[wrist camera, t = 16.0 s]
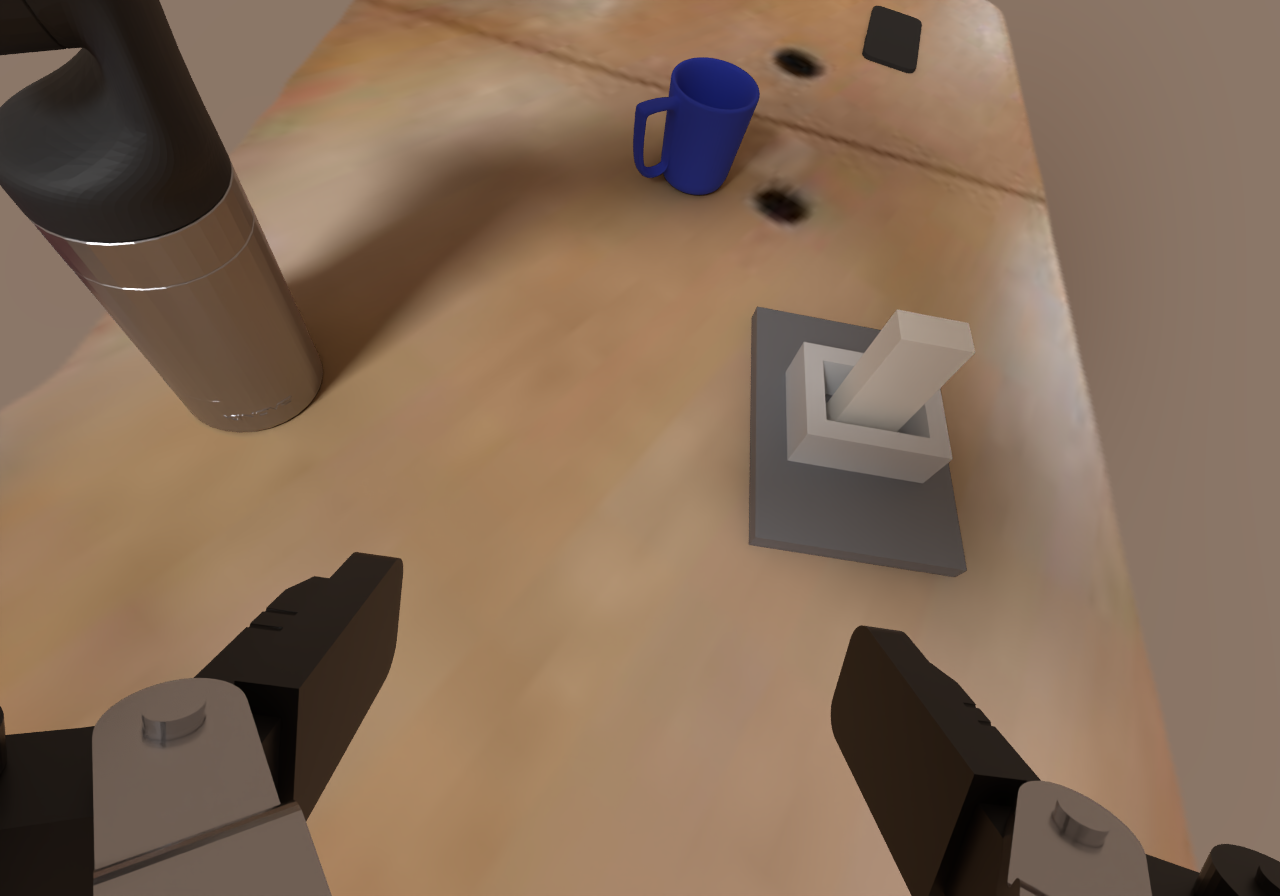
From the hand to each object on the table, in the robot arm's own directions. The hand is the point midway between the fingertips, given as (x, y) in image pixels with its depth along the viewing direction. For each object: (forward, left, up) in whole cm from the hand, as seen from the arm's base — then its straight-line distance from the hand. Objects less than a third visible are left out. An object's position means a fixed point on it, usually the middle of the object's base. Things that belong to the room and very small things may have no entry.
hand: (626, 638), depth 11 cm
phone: (-60, +78, -31) cm, 103 cm away
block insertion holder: (-11, +31, -31) cm, 45 cm away
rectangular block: (-11, +31, -29) cm, 44 cm away
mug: (-43, +33, -31) cm, 62 cm away
